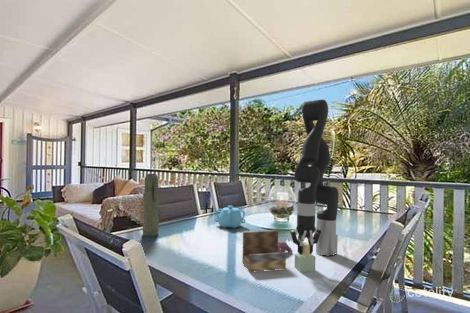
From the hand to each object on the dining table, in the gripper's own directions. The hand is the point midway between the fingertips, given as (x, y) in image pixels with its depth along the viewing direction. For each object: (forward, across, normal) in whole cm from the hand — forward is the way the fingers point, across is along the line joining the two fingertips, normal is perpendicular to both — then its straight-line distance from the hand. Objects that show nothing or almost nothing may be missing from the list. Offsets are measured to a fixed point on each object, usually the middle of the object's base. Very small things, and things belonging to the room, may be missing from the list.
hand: (305, 253), depth 128 cm
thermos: (+7, +63, -66) cm, 92 cm away
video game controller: (+7, +2, -19) cm, 21 cm away
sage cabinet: (+7, 0, 0) cm, 7 cm away
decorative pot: (+7, +13, -76) cm, 77 cm away
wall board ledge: (+7, +16, -6) cm, 18 cm away
